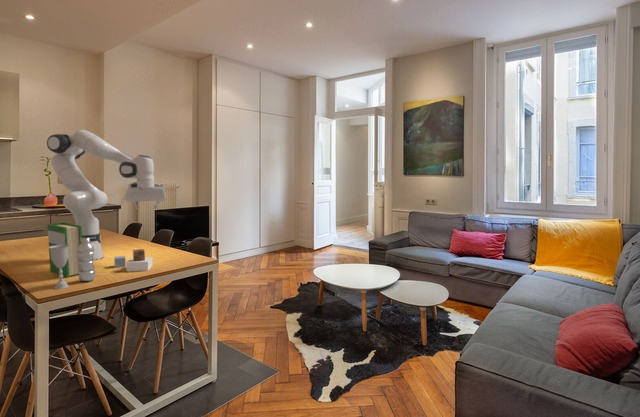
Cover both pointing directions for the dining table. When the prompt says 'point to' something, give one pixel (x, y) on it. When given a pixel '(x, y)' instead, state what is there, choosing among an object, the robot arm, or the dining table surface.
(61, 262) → the chalice
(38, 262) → the dining table surface
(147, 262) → the base block
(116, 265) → the blue-grey cube
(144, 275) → the dining table surface
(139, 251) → the walnut cube
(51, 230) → the hardback book
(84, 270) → the plastic bottle
